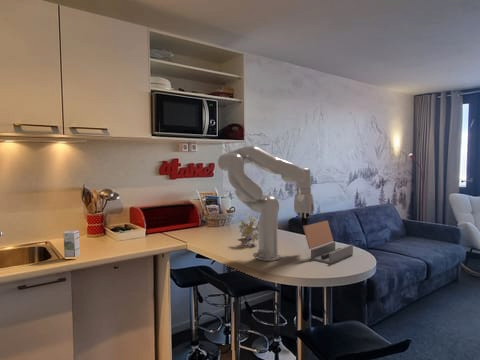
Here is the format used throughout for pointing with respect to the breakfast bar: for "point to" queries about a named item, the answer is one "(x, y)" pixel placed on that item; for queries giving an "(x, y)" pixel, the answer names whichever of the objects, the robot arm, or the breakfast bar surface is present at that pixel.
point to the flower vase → (249, 231)
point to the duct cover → (318, 234)
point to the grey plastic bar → (327, 254)
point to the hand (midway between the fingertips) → (304, 224)
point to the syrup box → (71, 243)
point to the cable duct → (333, 255)
